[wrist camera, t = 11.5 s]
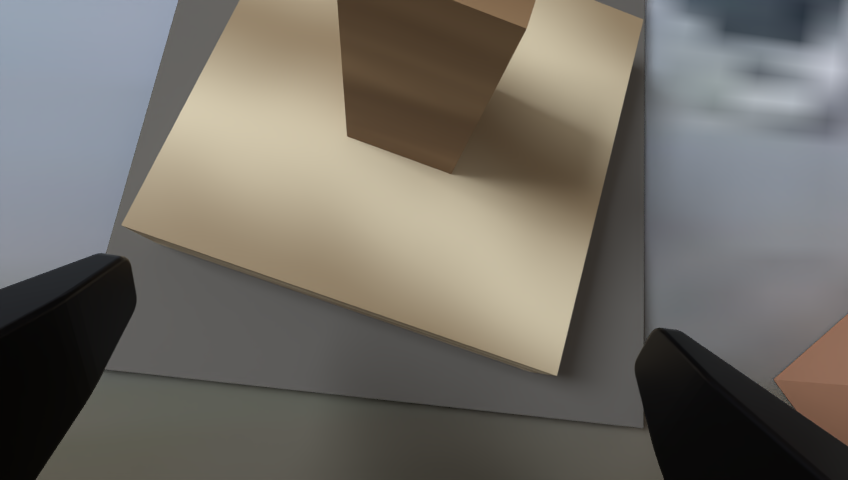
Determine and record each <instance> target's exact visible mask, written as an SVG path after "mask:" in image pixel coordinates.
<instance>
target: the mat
mask: <svg viewBox="0 0 848 480" xmlns="http://www.w3.org/2000/svg"><path fill="white" fill-rule="evenodd" d="M595 1H597V2H600V3H602V4H605V5H608V6H610V7H613V8H615V9H618V10H620V11H623V12H625V13H628V14H631V15H633V16H636V17H638V18H641V19H643V24H642V28H641V32H640V36H639V40H638V44H637V48H636V52H635V57H634V61H633V65H632V69H631V73H630V77H629V81H628V85H627V90H626V94H625V98H624V102H623V106H622V110H621V114H620V118H619V122H618V127H617V131H616V135H615V139H614V143H613V147H612V151H611V155H610V160H609V164H608V168H607V172H606V176H605V180H604V184H603V188H602V192H601V197H600V201H599V205H598V209H597V213H596V217H595V221H594V225H593V230H592V234H591V238H590V242H589V246H588V250H587V254H586V258H585V262H584V267H583V271H582V275H581V279H580V283H579V287H578V291H577V295H576V300H575V304H574V308H573V312H572V316H571V320H570V324H569V328H568V332H567V337H566V341H565V345H564V349H563V353H562V357H561V361H560V365H559V370H558V374H557V376H554V375H547V374H540V373H534V372H528V371H526V370H523V369H520V368H517V367H514V366H511V365H508V364H505V363H502V362H500V361H497V360H494V359H491V358H488V357H485V356H482V355H479V354H476V353H473V352H471V351H468V350H465V349H462V348H459V347H456V346H453V345H450V344H447V343H444V342H442V341H439V340H436V339H433V338H430V337H427V336H424V335H421V334H418V333H415V332H413V331H410V330H407V329H404V328H401V327H398V326H395V325H392V324H389V323H387V322H384V321H381V320H378V319H375V318H372V317H369V316H366V315H363V314H360V313H358V312H355V311H352V310H349V309H346V308H343V307H340V306H337V305H334V304H331V303H329V302H326V301H323V300H320V299H317V298H314V297H311V296H308V295H305V294H302V293H300V292H297V291H294V290H291V289H288V288H285V287H282V286H279V285H276V284H274V283H271V282H268V281H265V280H262V279H259V278H256V277H253V276H250V275H247V274H245V273H242V272H239V271H236V270H233V269H230V268H227V267H224V266H221V265H218V264H216V263H213V262H210V261H207V260H204V259H201V258H198V257H195V256H192V255H189V254H187V253H184V252H181V251H178V250H175V249H172V248H169V247H166V246H163V245H161V244H158V243H155V242H153V241H151V240H149V239H147V238H145V237H143V236H141V235H139V234H137V233H135V232H133V231H131V230H129V229H127V228H125V227H124V226H122V223H123V221H124V219H125V217H126V215H127V213H128V211H129V209H130V207H131V206H132V204H133V202H134V200H135V198H136V196H137V194H138V192H139V190H140V188H141V187H142V185H143V183H144V181H145V179H146V177H147V175H148V173H149V171H150V169H151V168H152V166H153V164H154V162H155V160H156V158H157V156H158V154H159V152H160V150H161V149H162V147H163V145H164V143H165V141H166V139H167V137H168V135H169V133H170V131H171V130H172V128H173V126H174V124H175V122H176V120H177V118H178V116H179V114H180V112H181V111H182V109H183V107H184V105H185V103H186V101H187V99H188V97H189V95H190V93H191V92H192V90H193V88H194V86H195V84H196V82H197V80H198V78H199V76H200V74H201V73H202V71H203V69H204V67H205V65H206V63H207V61H208V59H209V57H210V55H211V54H212V52H213V50H214V48H215V46H216V44H217V42H218V40H219V38H220V36H221V35H222V33H223V31H224V29H225V27H226V25H227V23H228V21H229V19H230V17H231V16H232V14H233V12H234V10H235V8H236V6H237V4H238V2H239V0H178V4H177V7H176V11H175V14H174V18H173V21H172V25H171V28H170V32H169V35H168V39H167V42H166V45H165V49H164V52H163V56H162V59H161V63H160V66H159V70H158V73H157V77H156V80H155V84H154V87H153V91H152V94H151V98H150V101H149V105H148V108H147V112H146V115H145V119H144V122H143V126H142V129H141V133H140V136H139V140H138V143H137V147H136V150H135V154H134V157H133V161H132V164H131V168H130V171H129V175H128V178H127V182H126V185H125V188H124V192H123V195H122V199H121V202H120V206H119V209H118V213H117V216H116V220H115V223H114V227H113V230H112V234H111V237H110V241H109V244H108V248H107V251H106V254H112V255H119V256H124V257H126V258H128V259H129V261H130V263H131V266H132V272H133V277H134V283H135V289H136V294H137V303H136V308H135V311H134V313H133V315H132V317H131V319H130V321H129V323H128V325H127V327H126V329H125V330H124V332H123V334H122V336H121V338H120V340H119V342H118V344H117V346H116V348H115V350H114V352H113V354H112V356H111V358H110V360H109V362H108V364H107V366H106V368H105V369H106V370H115V371H124V372H133V373H143V374H152V375H161V376H170V377H179V378H188V379H198V380H207V381H216V382H225V383H234V384H243V385H253V386H262V387H271V388H280V389H289V390H298V391H308V392H317V393H326V394H335V395H344V396H353V397H363V398H372V399H381V400H390V401H399V402H408V403H418V404H427V405H436V406H445V407H454V408H463V409H473V410H482V411H491V412H500V413H509V414H518V415H528V416H537V417H546V418H555V419H564V420H573V421H583V422H592V423H601V424H610V425H619V426H628V427H638V428H643V405H642V401H641V397H640V393H639V389H638V385H637V381H636V377H635V371H634V366H635V361H636V358H637V356H638V355H639V353H640V351H641V349H642V348H643V346H644V63H645V0H595Z"/></svg>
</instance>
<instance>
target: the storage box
mask: <svg viewBox="0 0 848 480" xmlns="http://www.w3.org/2000/svg"><path fill="white" fill-rule="evenodd" d="M774 381H775V382H776V383H777V385H778V386H779V388H780V389H781V390H782V392H783V393H784V394H785V396H786V397H787V399H788V400H789V401H790V403H791V404H792V405H793V407H794V408H795V409H796V411H798V412H799V413H801V414H802V415H803V416H805V417H806V418H808V419H809V420H811V421H812V422H814V423H815V424H816V425H818V426H819V427H821V428H822V429H824V430H825V431H827V432H828V433H830V434H831V435H832V436H834V437H835V438H837V439H838V440H840V441H841V442H843V443H844V444H846V445H847V446H848V314H847V315H846V316H845V317H844V318H843V319H841V320H840V321H839V322H838V323H837V324H836V325H835V326H834V327H832V328H831V329H830V330H829V331H828V332H827V333H826V334H824V335H823V336H822V337H821V338H820V339H819V340H818V341H817V342H815V343H814V344H813V345H812V346H811V347H810V348H809V349H807V350H806V351H805V352H804V353H803V354H802V355H801V356H800V357H798V358H797V359H796V360H795V361H794V362H793V363H792V364H790V365H789V366H788V367H787V368H786V369H785V370H784V371H783V372H781V373H780V374H779V375H778V376H777V377H776V378H775V379H774Z"/></svg>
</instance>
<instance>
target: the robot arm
mask: <svg viewBox="0 0 848 480" xmlns="http://www.w3.org/2000/svg"><path fill="white" fill-rule="evenodd" d="M136 303H137V294H136V289H135V283H134V277H133V272H132V266H131V263H130V261H129V259H128V258H126V257H124V256H119V255H112V254H104V253H99V254H95V255H92V256H89V257H87V258H84V259H81V260H78V261H76V262H73V263H70V264H68V265H65V266H62V267H59V268H57V269H54V270H51V271H48V272H46V273H43V274H40V275H38V276H35V277H32V278H29V279H27V280H24V281H21V282H18V283H16V284H13V285H10V286H8V287H5V288H2V289H0V480H36V478H37V477H38V475H39V474H40V472H41V471H42V469H43V468H44V466H45V464H46V463H47V461H48V460H49V458H50V457H51V455H52V454H53V452H54V451H55V449H56V448H57V446H58V445H59V443H60V442H61V440H62V439H63V437H64V436H65V434H66V433H67V431H68V430H69V428H70V427H71V425H72V423H73V422H74V420H75V419H76V417H77V416H78V414H79V413H80V411H81V410H82V408H83V407H84V405H85V404H86V402H87V400H88V399H89V397H90V396H91V394H92V392H93V390H94V389H95V387H96V385H97V383H98V381H99V379H100V377H101V375H102V374H103V372H104V370H105V368H106V366H107V364H108V362H109V360H110V358H111V356H112V354H113V352H114V350H115V348H116V346H117V344H118V342H119V340H120V338H121V336H122V334H123V332H124V330H125V329H126V327H127V325H128V323H129V321H130V319H131V317H132V315H133V313H134V311H135V308H136ZM634 371H635V377H636V381H637V385H638V389H639V393H640V397H641V401H642V405H643V409H644V413H645V417H646V421H647V425H648V429H649V433H650V437H651V440H652V444H653V448H654V451H655V454H656V457H657V460H658V463H659V466H660V469H661V472H662V475H663V478H664V480H848V446H847V445H846V444H844V443H843V442H841V441H840V440H838V439H837V438H835V437H834V436H832V435H831V434H830V433H828V432H827V431H825V430H824V429H822V428H821V427H819V426H818V425H816V424H815V423H814V422H812V421H811V420H809V419H808V418H806V417H805V416H803V415H802V414H801V413H799V412H798V411H796V410H795V409H793V408H792V407H790V406H789V405H787V404H786V403H785V402H783V401H782V400H780V399H779V398H777V397H776V396H774V395H773V394H771V393H770V392H769V391H767V390H766V389H764V388H763V387H761V386H760V385H758V384H757V383H756V382H754V381H753V380H751V379H750V378H748V377H747V376H745V375H744V374H742V373H741V372H740V371H738V370H737V369H735V368H734V367H732V366H731V365H729V364H728V363H726V362H725V361H724V360H722V359H721V358H719V357H718V356H716V355H715V354H713V353H712V352H711V351H709V350H708V349H706V348H705V347H703V346H702V345H700V344H699V343H697V342H696V341H695V340H693V339H692V338H690V337H689V336H687V335H686V334H684V333H683V332H681V331H679V330H674V329H666V328H656V329H654V330H653V331H652V332H651V334H650V335H649V337H648V339H647V341H646V342H645V344H644V346H643V348H642V349H641V351H640V353H639V355H638V356H637V358H636V361H635V366H634Z"/></svg>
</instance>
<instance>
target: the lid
mask: <svg viewBox="0 0 848 480" xmlns="http://www.w3.org/2000/svg"><path fill="white" fill-rule="evenodd" d="M642 24H643V19H641V18H638V17H636V16H633V15H631V14H628V13H625V12H623V11H620V10H618V9H615V8H613V7H610V6H608V5H605V4H602V3H600V2H597V1H595V0H239V2H238V4H237V6H236V8H235V10H234V12H233V14H232V16H231V17H230V19H229V21H228V23H227V25H226V27H225V29H224V31H223V33H222V35H221V36H220V38H219V40H218V42H217V44H216V46H215V48H214V50H213V52H212V54H211V55H210V57H209V59H208V61H207V63H206V65H205V67H204V69H203V71H202V73H201V74H200V76H199V78H198V80H197V82H196V84H195V86H194V88H193V90H192V92H191V93H190V95H189V97H188V99H187V101H186V103H185V105H184V107H183V109H182V111H181V112H180V114H179V116H178V118H177V120H176V122H175V124H174V126H173V128H172V130H171V131H170V133H169V135H168V137H167V139H166V141H165V143H164V145H163V147H162V149H161V150H160V152H159V154H158V156H157V158H156V160H155V162H154V164H153V166H152V168H151V169H150V171H149V173H148V175H147V177H146V179H145V181H144V183H143V185H142V187H141V188H140V190H139V192H138V194H137V196H136V198H135V200H134V202H133V204H132V206H131V207H130V209H129V211H128V213H127V215H126V217H125V219H124V221H123V223H122V226H124V227H125V228H127V229H129V230H131V231H133V232H135V233H137V234H139V235H141V236H143V237H145V238H147V239H149V240H151V241H153V242H155V243H158V244H161V245H163V246H166V247H169V248H172V249H175V250H178V251H181V252H184V253H187V254H189V255H192V256H195V257H198V258H201V259H204V260H207V261H210V262H213V263H216V264H218V265H221V266H224V267H227V268H230V269H233V270H236V271H239V272H242V273H245V274H247V275H250V276H253V277H256V278H259V279H262V280H265V281H268V282H271V283H274V284H276V285H279V286H282V287H285V288H288V289H291V290H294V291H297V292H300V293H302V294H305V295H308V296H311V297H314V298H317V299H320V300H323V301H326V302H329V303H331V304H334V305H337V306H340V307H343V308H346V309H349V310H352V311H355V312H358V313H360V314H363V315H366V316H369V317H372V318H375V319H378V320H381V321H384V322H387V323H389V324H392V325H395V326H398V327H401V328H404V329H407V330H410V331H413V332H415V333H418V334H421V335H424V336H427V337H430V338H433V339H436V340H439V341H442V342H444V343H447V344H450V345H453V346H456V347H459V348H462V349H465V350H468V351H471V352H473V353H476V354H479V355H482V356H485V357H488V358H491V359H494V360H497V361H500V362H502V363H505V364H508V365H511V366H514V367H517V368H520V369H523V370H526V371H528V372H534V373H540V374H547V375H554V376H557V374H558V370H559V365H560V361H561V357H562V353H563V349H564V345H565V341H566V337H567V332H568V328H569V324H570V320H571V316H572V312H573V308H574V304H575V300H576V295H577V291H578V287H579V283H580V279H581V275H582V271H583V267H584V262H585V258H586V254H587V250H588V246H589V242H590V238H591V234H592V230H593V225H594V221H595V217H596V213H597V209H598V205H599V201H600V197H601V192H602V188H603V184H604V180H605V176H606V172H607V168H608V164H609V160H610V155H611V151H612V147H613V143H614V139H615V135H616V131H617V127H618V122H619V118H620V114H621V110H622V106H623V102H624V98H625V94H626V90H627V85H628V81H629V77H630V73H631V69H632V65H633V61H634V57H635V52H636V48H637V44H638V40H639V36H640V32H641V28H642Z"/></svg>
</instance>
